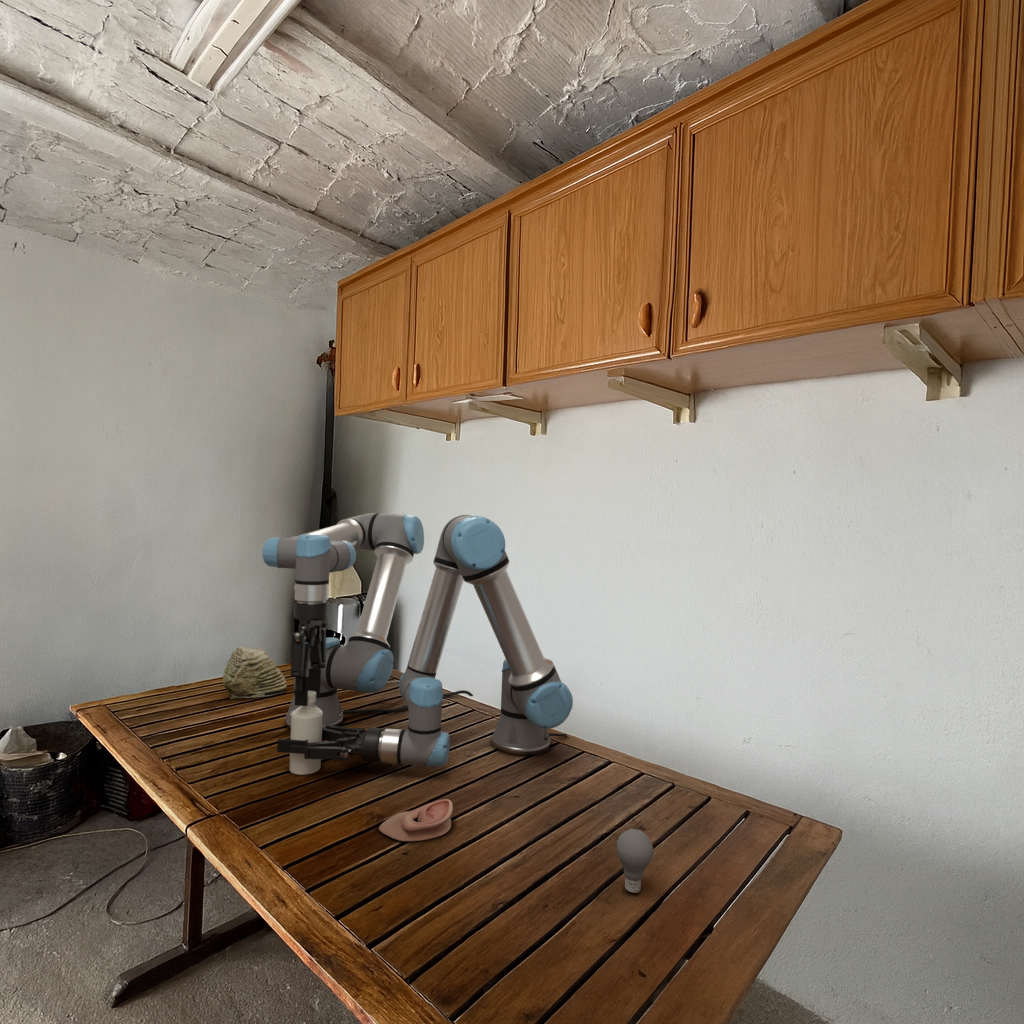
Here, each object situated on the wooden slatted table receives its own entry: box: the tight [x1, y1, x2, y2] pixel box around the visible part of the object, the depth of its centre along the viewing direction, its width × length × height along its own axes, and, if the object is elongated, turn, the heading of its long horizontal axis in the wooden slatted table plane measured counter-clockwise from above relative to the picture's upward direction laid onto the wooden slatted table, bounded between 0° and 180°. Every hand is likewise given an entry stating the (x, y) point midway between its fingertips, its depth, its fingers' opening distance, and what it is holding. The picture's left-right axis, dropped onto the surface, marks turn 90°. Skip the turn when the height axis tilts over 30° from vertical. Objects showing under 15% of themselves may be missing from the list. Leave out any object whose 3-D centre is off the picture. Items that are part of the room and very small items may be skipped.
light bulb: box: [615, 828, 654, 894], centre depth 106 cm, size 6×6×10 cm
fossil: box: [222, 646, 288, 699], centre depth 198 cm, size 9×18×15 cm, turn 132°
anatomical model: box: [378, 798, 454, 842], centre depth 123 cm, size 13×4×12 cm
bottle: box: [289, 703, 323, 776], centre depth 147 cm, size 7×7×17 cm
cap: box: [308, 691, 316, 704], centre depth 147 cm, size 4×4×2 cm
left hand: (307, 700), depth 147 cm, fingers open, 6 cm apart
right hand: (285, 739), depth 147 cm, fingers closed on bottle, 7 cm apart
